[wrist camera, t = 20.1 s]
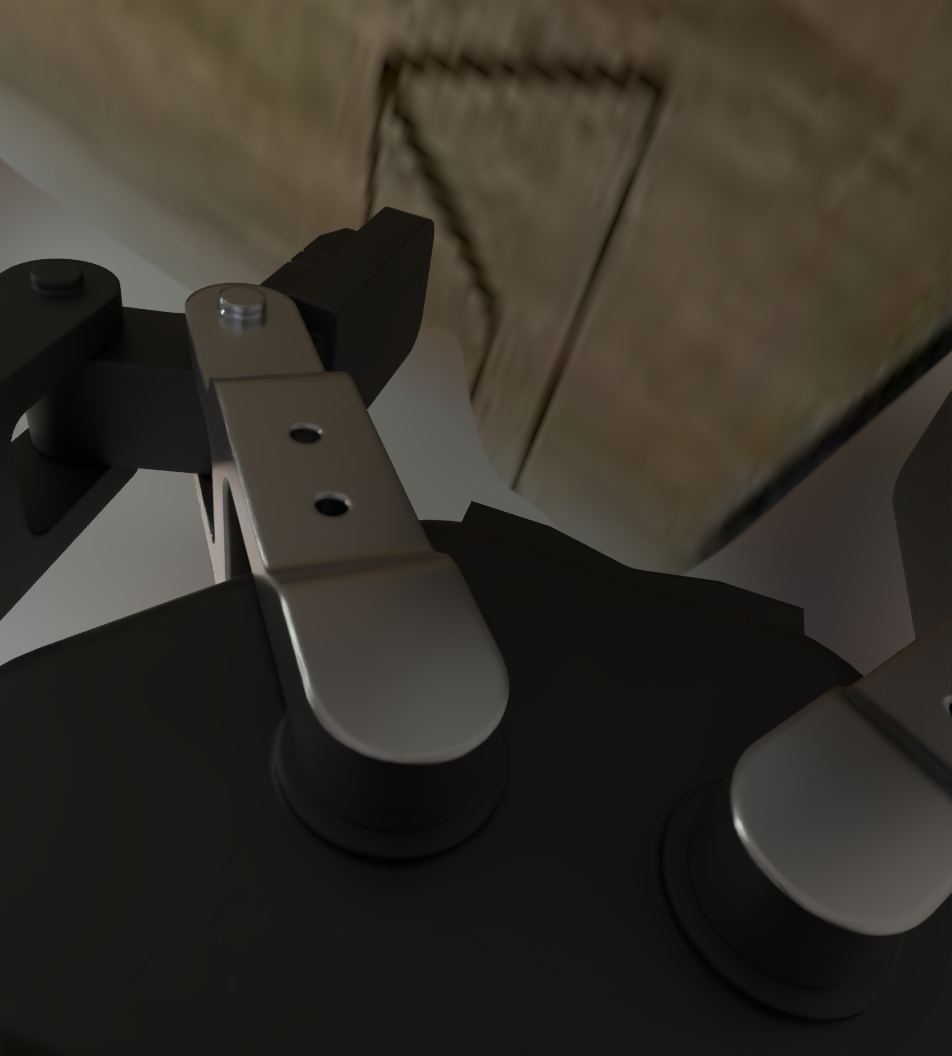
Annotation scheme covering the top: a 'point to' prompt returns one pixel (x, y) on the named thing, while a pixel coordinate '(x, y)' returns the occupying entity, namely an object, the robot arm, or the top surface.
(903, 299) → the top surface
